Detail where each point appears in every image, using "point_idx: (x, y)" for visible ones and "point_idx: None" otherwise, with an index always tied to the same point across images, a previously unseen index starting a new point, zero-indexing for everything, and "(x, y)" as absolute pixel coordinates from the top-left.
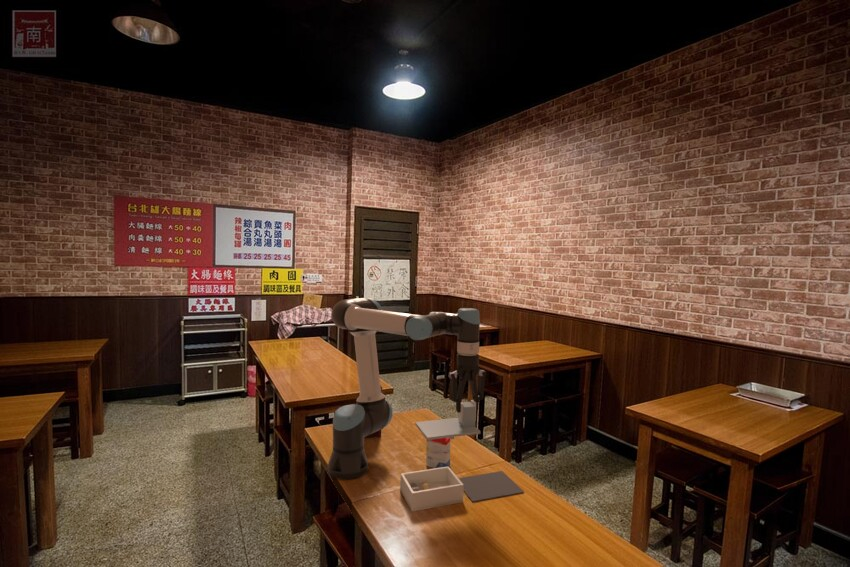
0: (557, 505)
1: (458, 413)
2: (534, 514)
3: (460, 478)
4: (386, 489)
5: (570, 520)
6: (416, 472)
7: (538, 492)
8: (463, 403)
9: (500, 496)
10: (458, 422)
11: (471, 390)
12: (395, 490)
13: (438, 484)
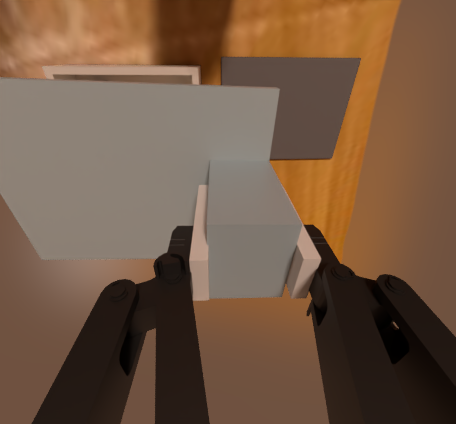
0: (347, 201)
1: (196, 208)
2: (297, 210)
3: (237, 60)
4: (28, 46)
5: (331, 231)
6: (93, 74)
7: (354, 163)
8: (234, 247)
9: (280, 158)
10: (208, 161)
11: (345, 352)
12: (55, 60)
13: (169, 81)
